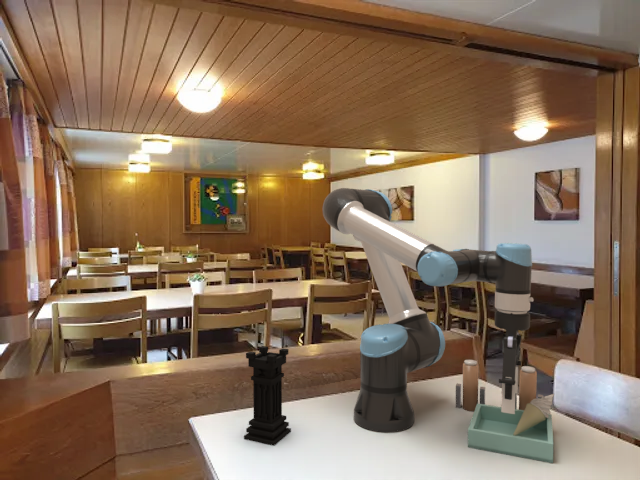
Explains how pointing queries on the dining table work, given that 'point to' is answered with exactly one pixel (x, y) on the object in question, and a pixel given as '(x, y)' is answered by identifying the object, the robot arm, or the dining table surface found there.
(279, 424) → the chess piece
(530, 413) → the ice cream cone
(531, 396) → the cylinder
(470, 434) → the tray
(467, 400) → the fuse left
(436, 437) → the dining table surface
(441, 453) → the dining table surface
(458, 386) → the clip row
